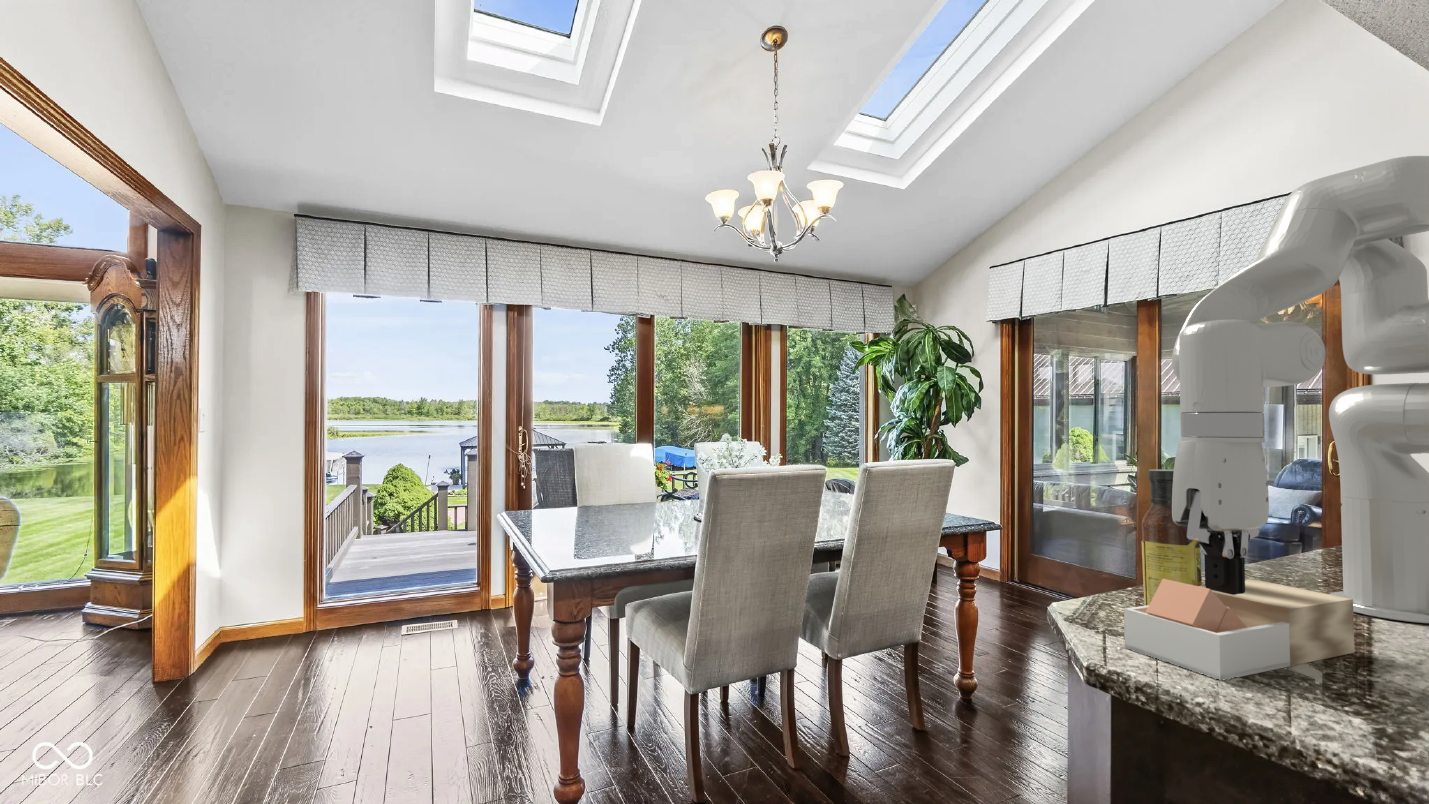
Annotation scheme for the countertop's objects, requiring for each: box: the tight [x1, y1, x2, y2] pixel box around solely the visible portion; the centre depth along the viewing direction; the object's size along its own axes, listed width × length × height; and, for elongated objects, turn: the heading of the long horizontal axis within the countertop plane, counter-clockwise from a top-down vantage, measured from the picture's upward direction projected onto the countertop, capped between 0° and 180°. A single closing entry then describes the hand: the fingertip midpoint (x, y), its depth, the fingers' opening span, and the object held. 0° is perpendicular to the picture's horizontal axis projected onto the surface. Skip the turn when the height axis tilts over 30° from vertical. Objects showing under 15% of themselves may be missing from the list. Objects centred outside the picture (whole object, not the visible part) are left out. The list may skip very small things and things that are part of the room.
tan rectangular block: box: [1199, 578, 1356, 667], centre depth 75 cm, size 12×10×6 cm
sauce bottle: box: [1141, 468, 1203, 606], centre depth 83 cm, size 6×6×20 cm
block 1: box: [1146, 579, 1227, 633], centre depth 70 cm, size 4×5×4 cm
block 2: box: [1216, 607, 1247, 633], centre depth 71 cm, size 4×5×4 cm
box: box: [1123, 605, 1291, 681], centre depth 71 cm, size 12×10×4 cm
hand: (1224, 591), depth 72 cm, fingers closed
